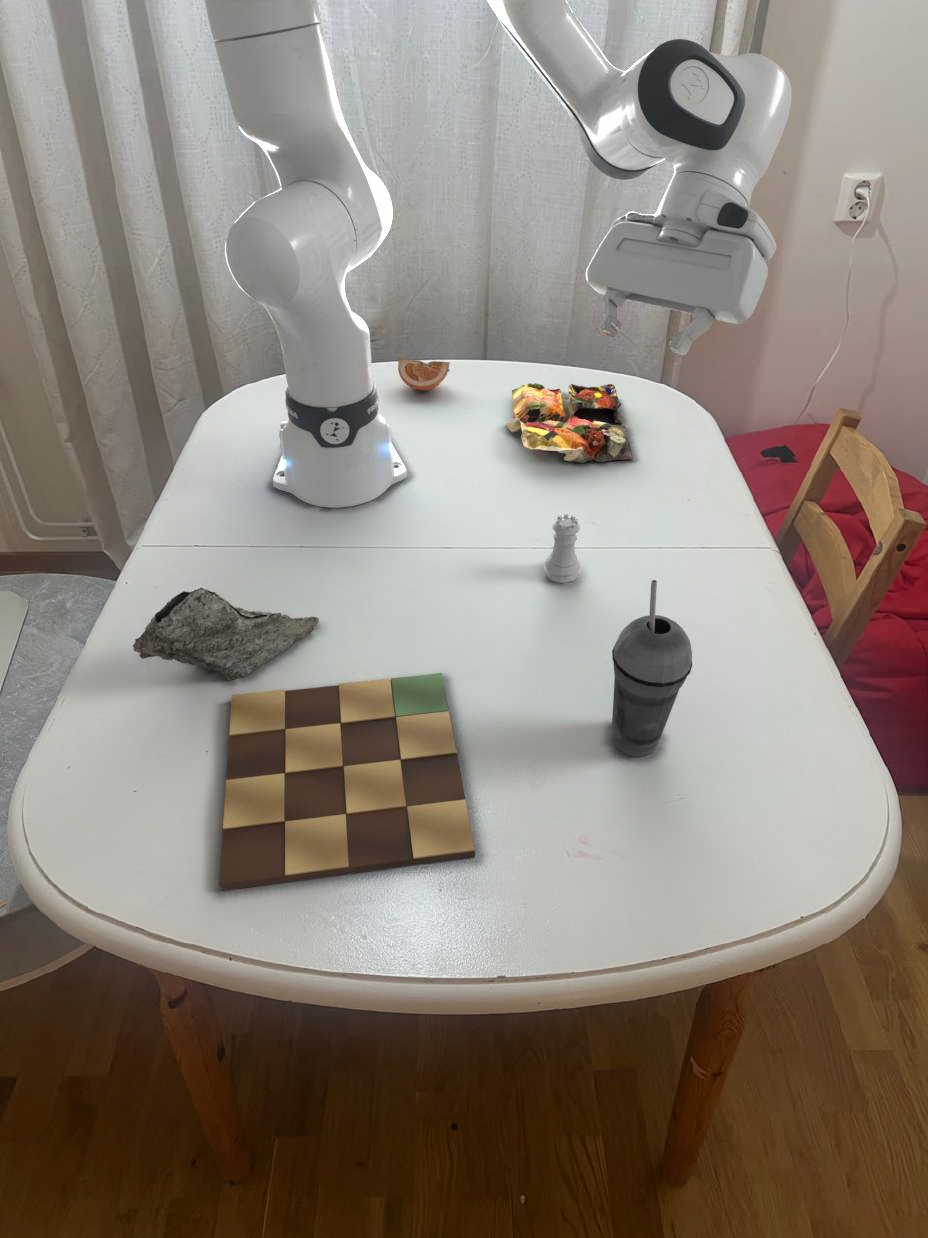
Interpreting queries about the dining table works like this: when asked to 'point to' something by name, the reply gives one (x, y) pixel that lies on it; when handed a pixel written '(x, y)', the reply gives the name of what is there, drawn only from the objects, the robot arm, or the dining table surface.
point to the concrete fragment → (219, 634)
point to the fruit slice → (422, 373)
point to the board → (341, 782)
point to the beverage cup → (647, 679)
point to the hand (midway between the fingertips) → (640, 342)
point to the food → (569, 422)
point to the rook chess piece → (563, 551)
